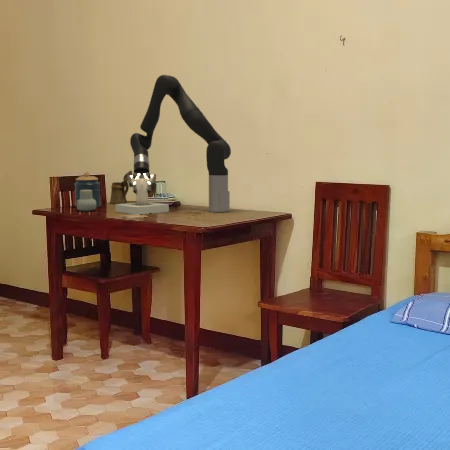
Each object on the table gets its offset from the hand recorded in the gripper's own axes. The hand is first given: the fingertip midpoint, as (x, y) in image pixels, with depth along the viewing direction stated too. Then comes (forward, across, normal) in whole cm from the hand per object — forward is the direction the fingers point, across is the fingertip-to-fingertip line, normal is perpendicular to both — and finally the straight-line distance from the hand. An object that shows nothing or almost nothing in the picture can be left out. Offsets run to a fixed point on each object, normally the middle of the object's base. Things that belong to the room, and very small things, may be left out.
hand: (142, 192), depth 291 cm
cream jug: (+4, 0, +5) cm, 7 cm away
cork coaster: (+20, -4, -7) cm, 22 cm away
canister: (-14, -28, +27) cm, 41 cm away
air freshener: (0, -27, +14) cm, 30 cm away
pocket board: (+5, 0, +8) cm, 10 cm away
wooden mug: (-23, -11, +36) cm, 44 cm away
